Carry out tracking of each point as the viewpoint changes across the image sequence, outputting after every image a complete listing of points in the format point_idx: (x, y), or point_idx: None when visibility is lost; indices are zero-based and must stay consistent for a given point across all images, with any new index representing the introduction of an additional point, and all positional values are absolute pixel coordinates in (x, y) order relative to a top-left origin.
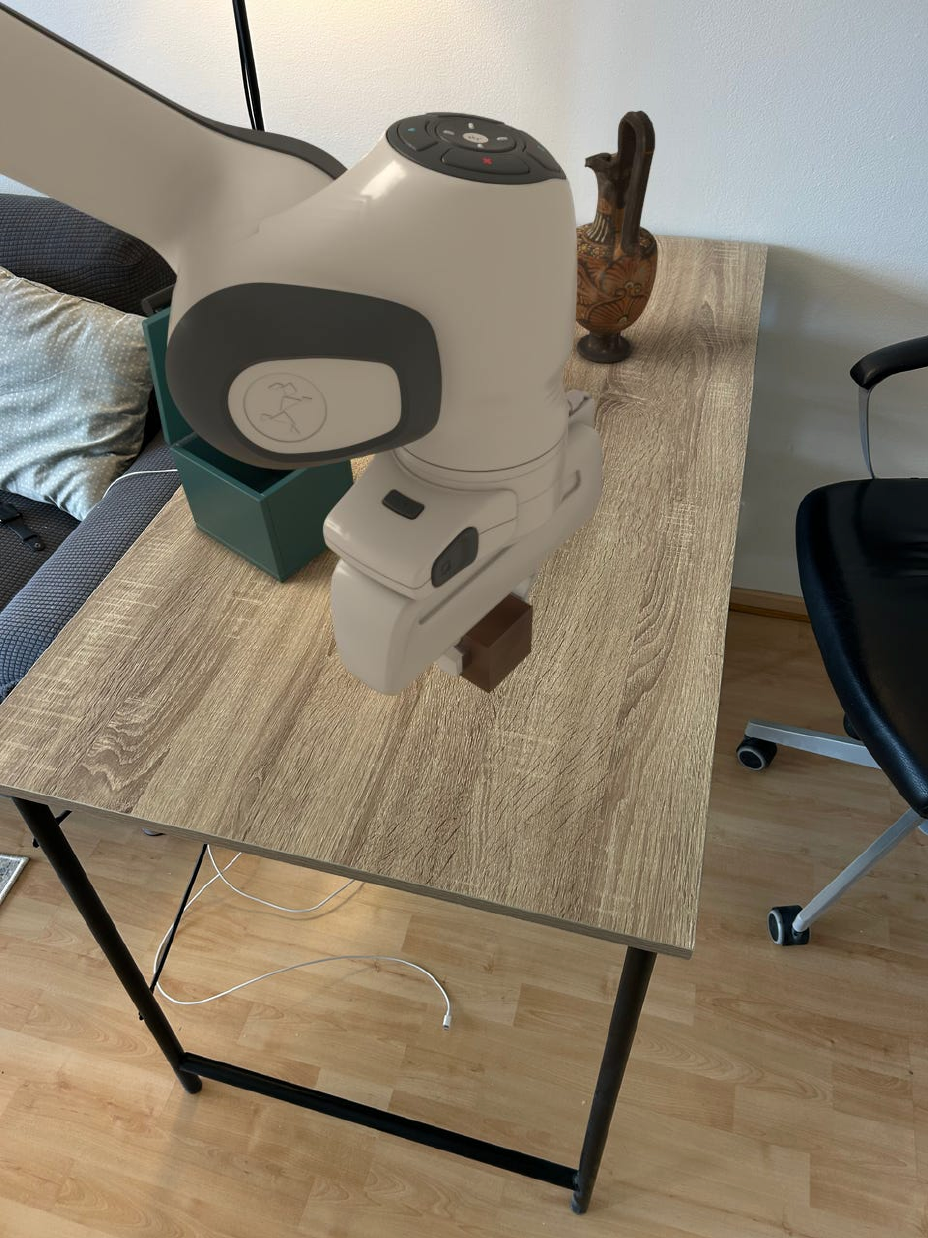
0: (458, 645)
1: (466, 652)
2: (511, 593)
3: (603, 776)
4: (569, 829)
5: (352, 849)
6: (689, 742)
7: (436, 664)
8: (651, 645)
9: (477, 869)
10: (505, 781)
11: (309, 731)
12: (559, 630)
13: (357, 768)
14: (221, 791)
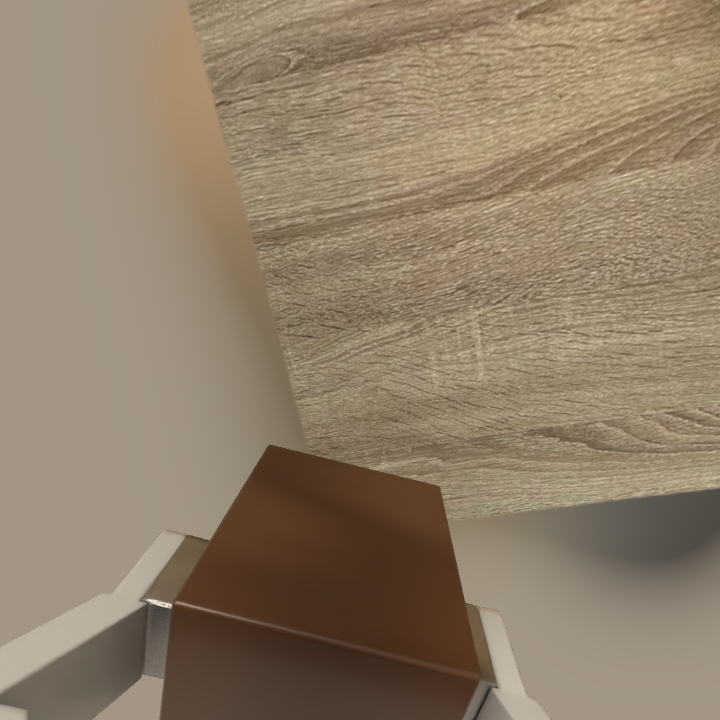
0: (166, 653)
1: (161, 674)
2: (471, 716)
3: (459, 437)
4: (388, 427)
5: (267, 237)
6: (531, 498)
7: (166, 530)
8: (663, 432)
9: (310, 365)
10: (414, 350)
11: (381, 82)
12: (661, 322)
13: (358, 182)
14: (250, 25)
